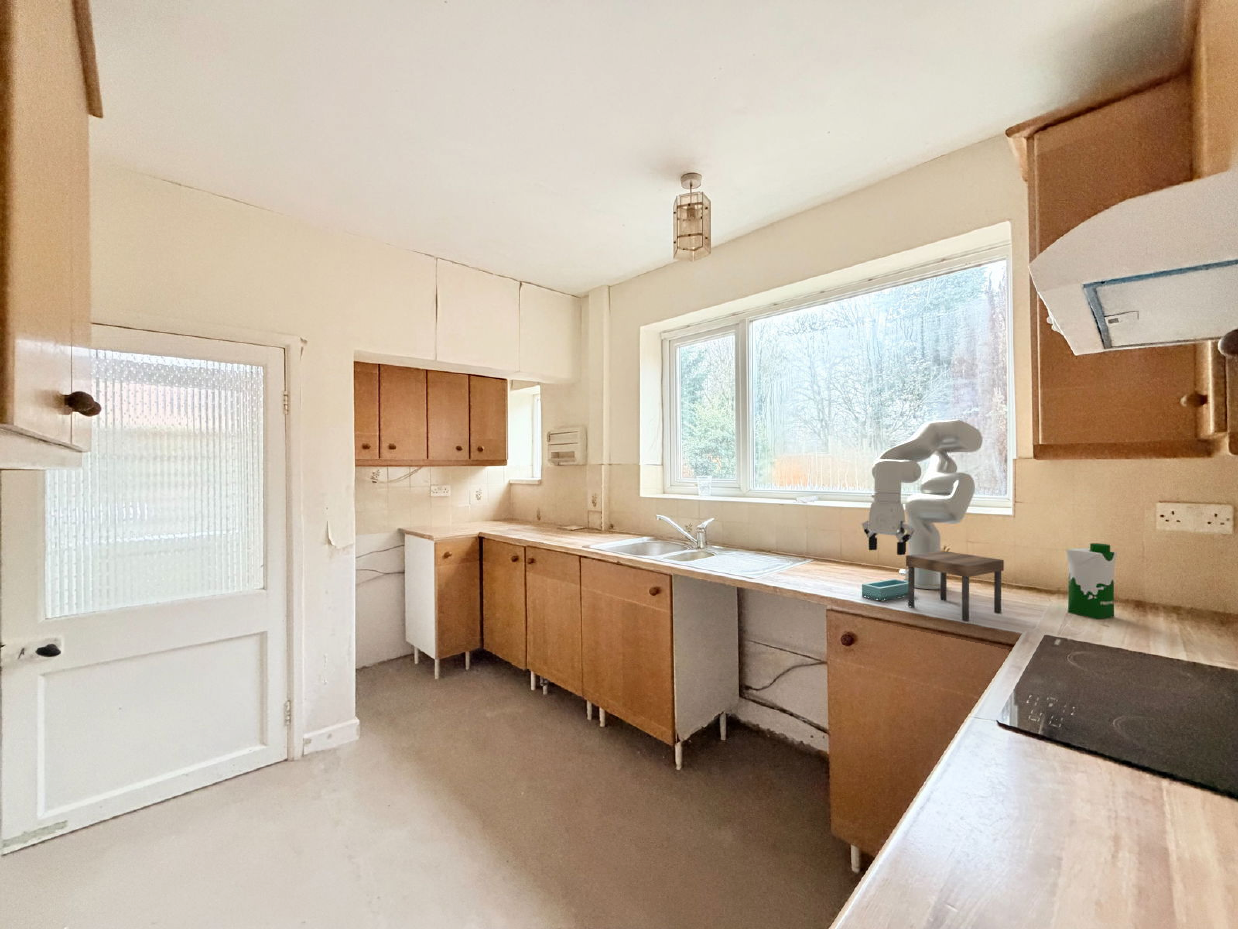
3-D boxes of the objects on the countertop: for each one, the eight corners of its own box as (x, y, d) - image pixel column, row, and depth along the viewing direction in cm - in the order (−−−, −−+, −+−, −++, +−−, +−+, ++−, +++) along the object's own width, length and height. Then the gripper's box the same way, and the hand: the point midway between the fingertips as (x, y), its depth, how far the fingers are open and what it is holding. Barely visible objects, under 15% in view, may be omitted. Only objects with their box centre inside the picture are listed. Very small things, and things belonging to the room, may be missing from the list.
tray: (861, 596, 161) (861, 584, 161) (894, 590, 169) (894, 578, 169) (880, 601, 156) (880, 588, 156) (912, 595, 163) (912, 582, 163)
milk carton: (1099, 620, 137) (1100, 546, 137) (1061, 611, 145) (1061, 541, 145) (1120, 617, 140) (1121, 544, 139) (1081, 608, 148) (1082, 540, 148)
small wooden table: (905, 606, 151) (906, 555, 151) (942, 598, 159) (942, 550, 159) (967, 622, 136) (967, 566, 136) (1003, 613, 144) (1003, 560, 144)
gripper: (855, 497, 168) (854, 549, 168) (906, 500, 153) (905, 557, 152) (870, 496, 171) (869, 547, 171) (921, 500, 156) (920, 556, 156)
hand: (886, 552), depth 162 cm, fingers open, 9 cm apart
